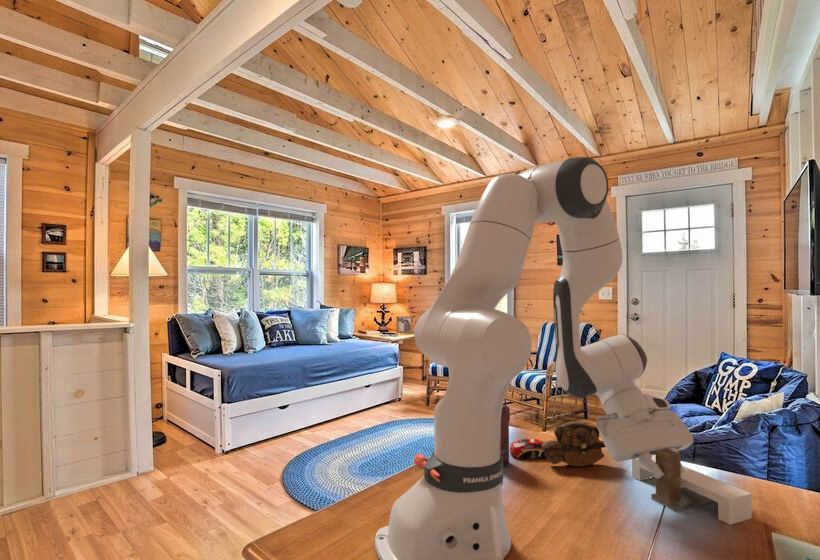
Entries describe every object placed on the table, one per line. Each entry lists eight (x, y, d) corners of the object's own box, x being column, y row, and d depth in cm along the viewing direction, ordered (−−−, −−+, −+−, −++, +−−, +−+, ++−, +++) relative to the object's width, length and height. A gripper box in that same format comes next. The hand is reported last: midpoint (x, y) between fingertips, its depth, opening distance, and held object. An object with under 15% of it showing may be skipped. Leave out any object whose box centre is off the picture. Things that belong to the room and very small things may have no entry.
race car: (558, 452, 113) (558, 436, 114) (566, 460, 108) (566, 444, 108) (507, 452, 113) (507, 436, 113) (513, 460, 108) (513, 444, 108)
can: (510, 469, 102) (510, 408, 102) (482, 467, 103) (482, 407, 103) (509, 459, 108) (509, 402, 108) (483, 457, 109) (483, 400, 109)
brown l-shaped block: (674, 511, 83) (673, 458, 83) (651, 499, 87) (651, 448, 88) (716, 500, 87) (716, 450, 87) (692, 489, 91) (692, 441, 92)
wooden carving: (549, 472, 100) (549, 428, 100) (540, 464, 105) (539, 422, 105) (613, 466, 103) (613, 424, 104) (601, 459, 108) (601, 418, 108)
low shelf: (729, 524, 78) (729, 499, 78) (632, 477, 98) (631, 456, 98) (751, 518, 80) (751, 493, 80) (651, 473, 100) (651, 453, 100)
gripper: (599, 408, 89) (641, 476, 80) (672, 399, 96) (718, 460, 87) (584, 424, 93) (621, 490, 84) (654, 414, 100) (696, 474, 91)
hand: (671, 475), depth 85 cm, fingers open, 3 cm apart
